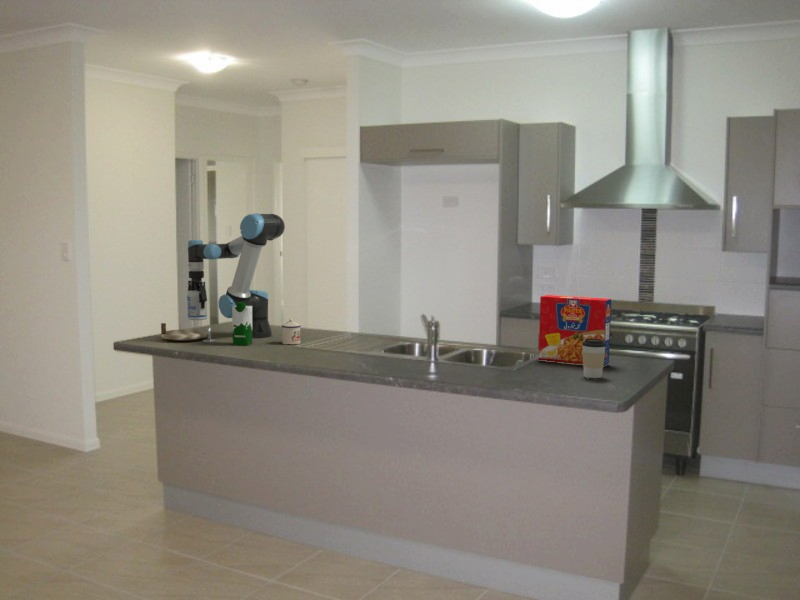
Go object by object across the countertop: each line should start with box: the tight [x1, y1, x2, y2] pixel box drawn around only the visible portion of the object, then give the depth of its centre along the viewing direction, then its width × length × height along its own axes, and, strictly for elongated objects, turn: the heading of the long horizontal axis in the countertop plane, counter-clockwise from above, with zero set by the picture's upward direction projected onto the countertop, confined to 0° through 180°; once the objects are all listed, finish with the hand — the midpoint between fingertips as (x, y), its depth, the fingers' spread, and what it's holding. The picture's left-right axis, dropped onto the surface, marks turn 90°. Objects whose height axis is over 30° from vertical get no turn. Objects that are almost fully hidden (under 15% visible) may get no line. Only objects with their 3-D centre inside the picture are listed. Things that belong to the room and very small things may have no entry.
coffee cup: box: [582, 339, 606, 378], centre depth 315 cm, size 9×9×15 cm
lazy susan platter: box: [160, 322, 207, 340], centre depth 396 cm, size 22×22×7 cm
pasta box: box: [538, 294, 612, 366], centre depth 344 cm, size 28×8×28 cm, turn 60°
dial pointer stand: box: [202, 326, 216, 343], centre depth 391 cm, size 5×4×7 cm
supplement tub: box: [186, 290, 208, 321], centre depth 417 cm, size 10×10×15 cm
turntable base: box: [169, 339, 200, 343], centre depth 397 cm, size 14×14×2 cm
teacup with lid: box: [281, 318, 302, 345], centre depth 389 cm, size 12×9×12 cm
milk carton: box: [231, 302, 253, 347], centre depth 384 cm, size 9×9×20 cm
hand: (197, 314), depth 417 cm, fingers closed on supplement tub, 10 cm apart
